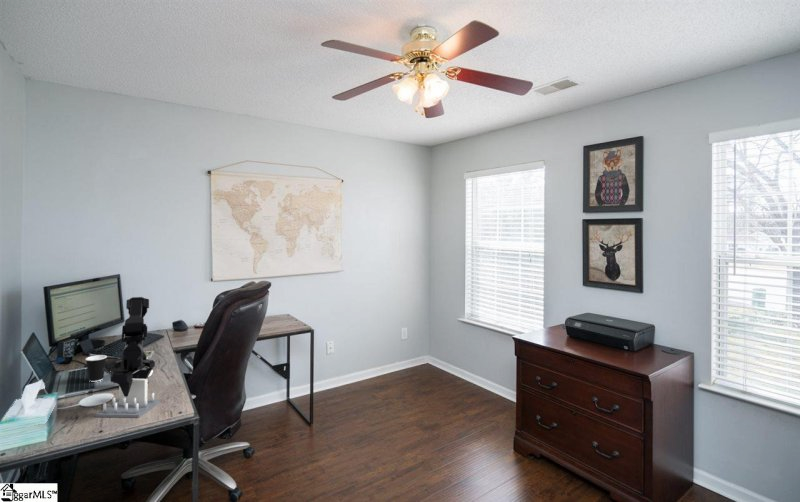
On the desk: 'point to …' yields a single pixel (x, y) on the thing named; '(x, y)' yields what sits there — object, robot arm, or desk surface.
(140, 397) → the white rectangular slab
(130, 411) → the dish rack
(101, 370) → the dixie cup
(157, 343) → the desk surface
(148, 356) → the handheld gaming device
